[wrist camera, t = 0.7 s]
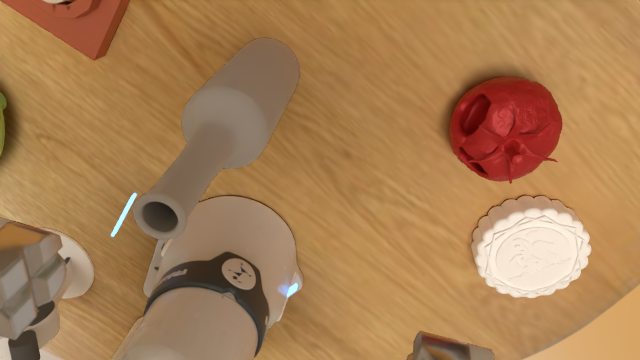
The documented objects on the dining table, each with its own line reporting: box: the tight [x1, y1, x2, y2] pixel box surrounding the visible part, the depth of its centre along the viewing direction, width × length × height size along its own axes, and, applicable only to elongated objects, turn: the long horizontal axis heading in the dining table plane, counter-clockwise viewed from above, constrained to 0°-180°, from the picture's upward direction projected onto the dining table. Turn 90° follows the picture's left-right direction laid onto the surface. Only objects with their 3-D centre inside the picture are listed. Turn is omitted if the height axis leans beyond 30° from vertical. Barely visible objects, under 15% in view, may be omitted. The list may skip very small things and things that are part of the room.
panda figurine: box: [0, 227, 95, 360], centre depth 57 cm, size 12×11×15 cm
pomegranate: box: [449, 77, 562, 183], centre depth 44 cm, size 10×10×9 cm
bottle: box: [133, 38, 300, 240], centre depth 36 cm, size 7×7×28 cm
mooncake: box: [471, 196, 591, 298], centre depth 53 cm, size 12×12×4 cm
